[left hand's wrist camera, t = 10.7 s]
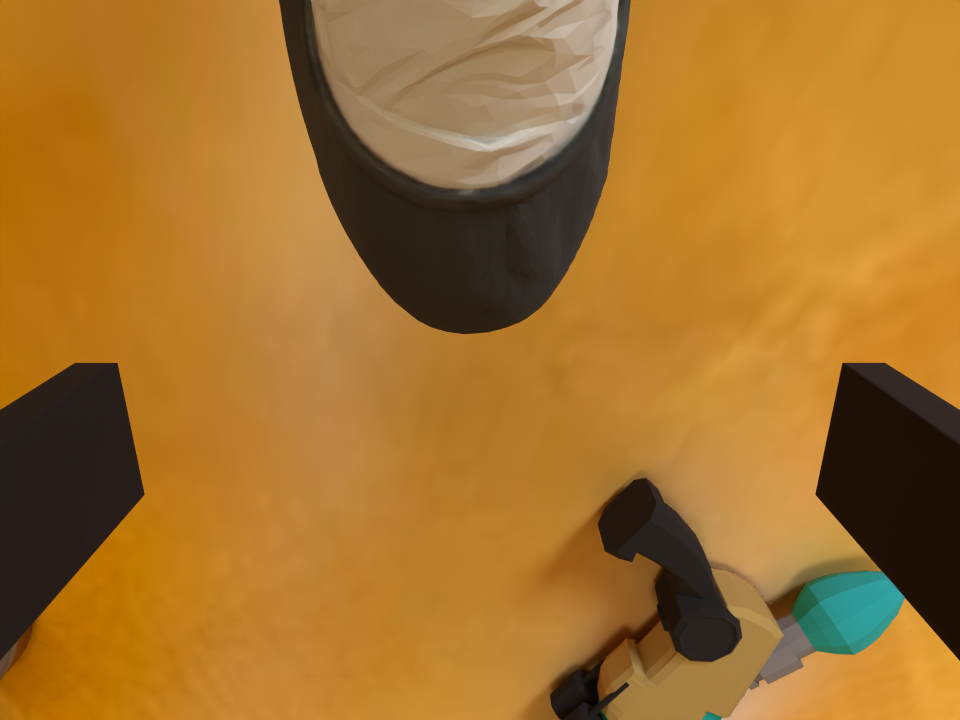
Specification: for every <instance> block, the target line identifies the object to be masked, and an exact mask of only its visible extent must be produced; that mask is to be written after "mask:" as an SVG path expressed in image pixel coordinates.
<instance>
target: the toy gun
mask: <svg viewBox="0 0 960 720" xmlns="http://www.w3.org/2000/svg"><path fill="white" fill-rule="evenodd" d="M598 527H599V531H600V534H601V538H602V542H603V546H604V549H605V552H607V553H609V554H611V555H613V556H615V557H617V558H619V559H623V560H626V561H630V562H632V561H633V559H634V557H635V554H636V552H637V553H638V554H640V555H642V556H644V557H646V558H648V559H650V560H652V561H654V562H656V563H657V564H659V565H660V566H662V567H663V568H665V569H666V570H664V571H663V573H662V575H661V576H660V578H659V580H658V581H657V583H656V585H655V589H656V594H657V598H658V604H657V610H658V614H659V617H660V621H659V622H658V623H657V624H656V625H655V626H654V627H653V629H652V630H651V631H650V632H649V633H648V634H647V635H646V636H645V637H644V638H643V639H642V640H641V641H640V642H639V643H637V644H635V640H633V639H627V638H626V639H625V640H624V641H623V642H622V643H621V644H620V645H619V646H618V647H617V648H616V649H615V650H613V651H612V652H611V653H610V654H609V655H608V656H607V657H606V658H605V659H604V660H602V661H601V662H600V663H599V664H598V665H597V666H596V667H594V668H593V669H592V670H591V671H590V672H589V673H585V672H583V671H580V670H577V671H575V672H574V673H573V674H572V675H571V676H570V677H569V678H568V679H566V680H565V681H564V682H563V683H562V684H561V685H560V686H558V687H557V688H556V689H555V690H554V691H553V692H552V693H551V694H550V698H551V705H552V708H553V710H554V712H555V713H556V715H557V716H558V717H559V719H560V720H721V719H722V717H723V718H726V717H729V716H730V715H731V714H732V712H733V711H734V709H735V708H736V706H737V705H738V703H739V702H740V700H741V699H742V697H743V696H744V694H745V693H746V691H747V690H748V688H750V689H751V690H752V689H754V688H756V687H758V686H759V681H761V680H763V679H764V680H765V681H766V682H767V683H768V684H770V683H772V682H774V681H776V680H778V679H780V678H782V677H784V676H786V675H788V674H790V673H792V672H794V671H796V670H798V669H800V668H802V667H803V664H802V662H801V660H800V659H801V658H803V657H805V656H807V655H809V654H811V653H813V652H815V651H820V652H827V653H833V654H850V655H854V654H856V653H858V652H860V651H862V650H864V649H865V648H866V647H868V646H869V645H871V644H872V643H873V642H874V641H875V640H877V639H878V638H879V637H880V636H881V635H882V633H883V632H884V631H885V629H886V628H887V627H888V626H889V624H890V623H891V622H892V621H893V619H894V618H895V617H896V616H897V614H898V612H899V610H900V608H901V605H902V603H903V601H904V599H905V597H904V596H903V595H902V594H901V592H900V591H899V590H898V589H897V588H896V587H895V586H894V584H893V583H892V582H891V581H890V580H889V579H888V578H887V576H886V575H885V574H884V573H883V572H878V571H854V572H844V573H835V574H831V575H826V576H823V577H820V578H817V579H814V580H812V581H810V582H808V583H806V584H805V586H804V587H803V589H802V591H801V592H800V594H799V595H798V597H797V600H796V602H795V604H794V606H793V608H792V610H791V612H789V613H787V614H785V615H783V616H781V617H779V618H777V619H776V620H775V619H774V617H773V615H772V613H771V612H770V610H769V608H768V606H767V604H766V603H765V601H764V599H763V597H762V596H761V595H760V594H759V592H758V591H757V590H756V589H755V587H754V586H753V585H752V584H750V583H749V582H747V581H746V580H744V579H742V578H741V577H739V576H737V575H735V574H733V573H731V572H728V571H726V570H720V569H713V568H711V567H710V565H709V563H708V560H707V558H706V556H705V553H704V551H703V549H702V547H701V545H700V543H699V541H698V539H697V537H696V535H695V533H694V532H693V531H692V530H691V529H690V527H689V526H688V525H687V524H686V523H685V522H684V520H683V519H682V518H681V517H680V516H679V515H678V513H677V512H676V511H674V510H673V509H672V508H670V507H669V506H668V505H667V504H665V503H664V501H663V499H662V497H661V495H660V492H659V490H658V489H657V488H656V487H655V486H654V485H653V484H652V483H651V482H650V481H649V480H648V479H647V478H643V479H637V480H634V481H633V482H632V483H631V484H630V485H629V486H628V487H626V488H625V489H624V490H623V491H622V492H621V493H620V494H619V495H618V496H617V497H616V498H615V499H614V500H613V501H612V502H611V503H610V504H609V505H608V506H607V507H606V508H605V509H604V511H603V513H602V516H601V518H600V521H599V523H598ZM599 672H600V674H599V680H598V685H597V684H596V682H595V681H594V679H593V677H594V676H595V675H596V674H598V673H599Z"/></svg>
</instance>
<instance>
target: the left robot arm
mask: <svg viewBox="0 0 960 720" xmlns="http://www.w3.org/2000/svg"><path fill="white" fill-rule="evenodd" d="M144 495H145V494H144V489H143V485H142V480H141V475H140V470H139V465H138V460H137V455H136V451H135V446H134V441H133V436H132V431H131V426H130V421H129V417H128V412H127V407H126V402H125V397H124V392H123V387H122V383H121V378H120V373H119V368H118V363H74V364H73V365H71V366H70V367H68V368H66V369H65V370H63V371H62V372H60V373H58V374H57V375H55V376H54V377H52V378H50V379H49V380H47V381H46V382H44V383H42V384H41V385H39V386H38V387H36V388H35V389H33V390H31V391H30V392H28V393H27V394H25V395H23V396H22V397H20V398H19V399H17V400H15V401H14V402H12V403H11V404H9V405H7V406H6V407H4V408H3V409H1V410H0V680H1V679H2V677H3V676H4V675H5V674H6V673H7V672H8V670H9V669H10V668H11V667H12V666H13V665H14V663H15V662H16V661H17V660H18V659H19V657H20V656H21V655H22V653H23V651H24V650H25V648H26V646H27V643H28V641H29V638H30V635H31V631H32V624H33V622H34V621H35V620H36V619H37V618H38V617H39V615H40V614H41V613H42V612H43V611H44V610H45V609H46V607H47V606H48V605H49V604H50V603H51V602H52V601H53V599H54V598H55V597H56V596H57V595H58V594H59V592H60V591H61V590H62V589H63V588H64V587H65V586H66V584H67V583H68V582H69V581H70V580H71V579H72V578H73V576H74V575H75V574H76V573H77V572H78V571H79V569H80V568H81V567H82V566H83V565H84V564H85V563H86V561H87V560H88V559H89V558H90V557H91V556H92V554H93V553H94V552H95V551H96V550H97V549H98V548H99V546H100V545H101V544H102V543H103V542H104V541H105V540H106V538H107V537H108V536H109V535H110V534H111V533H112V531H113V530H114V529H115V528H116V527H117V526H118V525H119V523H120V522H121V521H122V520H123V519H124V518H125V517H126V515H127V514H128V513H129V512H130V511H131V510H132V508H133V507H134V506H135V505H136V504H137V503H138V502H139V500H140V499H141V498H142V497H143V496H144ZM815 495H816V496H817V497H818V498H819V499H820V500H821V502H822V503H823V504H824V505H825V506H826V507H827V508H828V510H829V511H830V512H831V513H832V514H833V515H834V517H835V518H836V519H837V520H838V521H839V522H840V523H841V525H842V526H843V527H844V528H845V529H846V530H847V531H848V533H849V534H850V535H851V536H852V537H853V538H854V540H855V541H856V542H857V543H858V544H859V545H860V546H861V548H862V549H863V550H864V551H865V552H866V553H867V554H868V556H869V557H870V558H871V559H872V560H873V561H874V563H875V564H876V565H877V566H878V567H879V568H880V569H881V571H882V572H883V573H884V574H885V575H886V576H887V578H888V579H889V580H890V581H891V582H892V583H893V584H894V586H895V587H896V588H897V589H898V590H899V591H900V592H901V594H902V595H903V596H904V597H905V598H906V599H907V601H908V602H909V603H910V604H911V605H912V606H913V607H914V609H915V610H916V611H917V612H918V613H919V614H920V615H921V617H922V618H923V619H924V620H925V621H926V622H927V624H928V625H929V626H930V627H931V628H932V629H933V630H934V632H935V633H936V634H937V635H938V636H939V637H940V639H941V640H942V641H943V642H944V643H945V644H946V645H947V647H948V648H949V649H950V650H951V651H952V652H953V653H954V655H955V656H956V657H957V658H958V659H959V660H960V410H959V409H957V408H956V407H954V406H953V405H951V404H949V403H948V402H946V401H945V400H943V399H941V398H940V397H938V396H937V395H935V394H933V393H932V392H930V391H929V390H927V389H925V388H924V387H922V386H921V385H919V384H918V383H916V382H914V381H913V380H911V379H910V378H908V377H906V376H905V375H903V374H902V373H900V372H898V371H897V370H895V369H894V368H892V367H890V366H889V365H887V364H886V363H842V368H841V373H840V378H839V383H838V387H837V392H836V397H835V402H834V407H833V412H832V417H831V421H830V426H829V431H828V436H827V441H826V446H825V451H824V455H823V460H822V465H821V470H820V475H819V480H818V485H817V489H816V494H815Z"/></svg>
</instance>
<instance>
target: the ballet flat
mask: <svg viewBox="0 0 960 720" xmlns="http://www.w3.org/2000/svg"><path fill="white" fill-rule="evenodd" d="M279 3H280V8H281V16H282V23H283V29H284V35H285V41H286V46H287V51H288V56H289V61H290V66H291V70H292V75H293V79H294V83H295V88H296V92H297V96H298V100H299V104H300V108H301V111H302V115H303V118H304V122H305V125H306V128H307V132H308V135H309V138H310V141H311V144H312V147H313V150H314V153H315V156H316V160H317V164H318V168H319V173H320V175H321V178H322V181H323V183H324V186H325V189H326V191H327V194H328V196H329V199H330V201H331V204H332V206H333V208H334V210H335V212H336V214H337V216H338V218H339V220H340V222H341V224H342V226H343V228H344V230H345V232H346V234H347V235H348V237H349V239H350V240H351V242H352V244H353V245H354V247H355V249H356V250H357V252H358V254H359V256H360V257H361V259H362V260H363V262H364V263H365V265H366V266H367V268H368V269H369V271H370V272H371V274H372V275H373V276H374V277H375V279H376V280H377V281H378V283H379V285H380V286H381V287H382V288H383V289H384V290H385V292H386V293H387V294H388V295H389V296H390V297H391V298H392V299H393V300H394V301H395V302H396V303H397V304H398V305H399V306H401V307H402V308H403V309H404V310H406V311H407V312H408V313H409V314H410V315H412V316H413V317H414V318H416V319H417V320H418V321H420V322H422V323H424V324H426V325H428V326H430V327H432V328H436V329H439V330H443V331H446V332H453V333H460V334H473V333H484V332H491V331H495V330H499V329H502V328H506V327H509V326H511V325H514V324H516V323H519V322H521V321H523V320H524V319H526V318H528V317H529V316H530V315H532V314H533V313H534V312H536V311H537V310H538V309H539V308H540V307H541V306H542V305H543V304H544V303H545V302H546V301H547V300H548V299H549V297H550V296H551V295H552V293H553V292H554V290H555V289H556V287H557V286H558V284H559V283H560V282H561V280H562V278H563V277H564V275H565V274H566V272H567V270H568V269H569V266H570V264H571V263H572V261H573V260H574V258H575V256H576V253H577V251H578V250H579V248H580V246H581V243H582V241H583V239H584V237H585V235H586V232H587V230H588V228H589V225H590V222H591V220H592V219H593V216H594V212H595V209H596V207H597V204H598V201H599V199H600V196H601V192H602V189H603V186H604V183H605V181H606V178H607V173H608V165H609V160H610V149H611V142H612V136H613V131H614V122H615V113H616V106H617V99H618V90H619V84H620V78H621V69H622V60H623V55H624V49H625V42H626V36H627V29H628V21H629V11H630V0H279Z"/></svg>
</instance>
